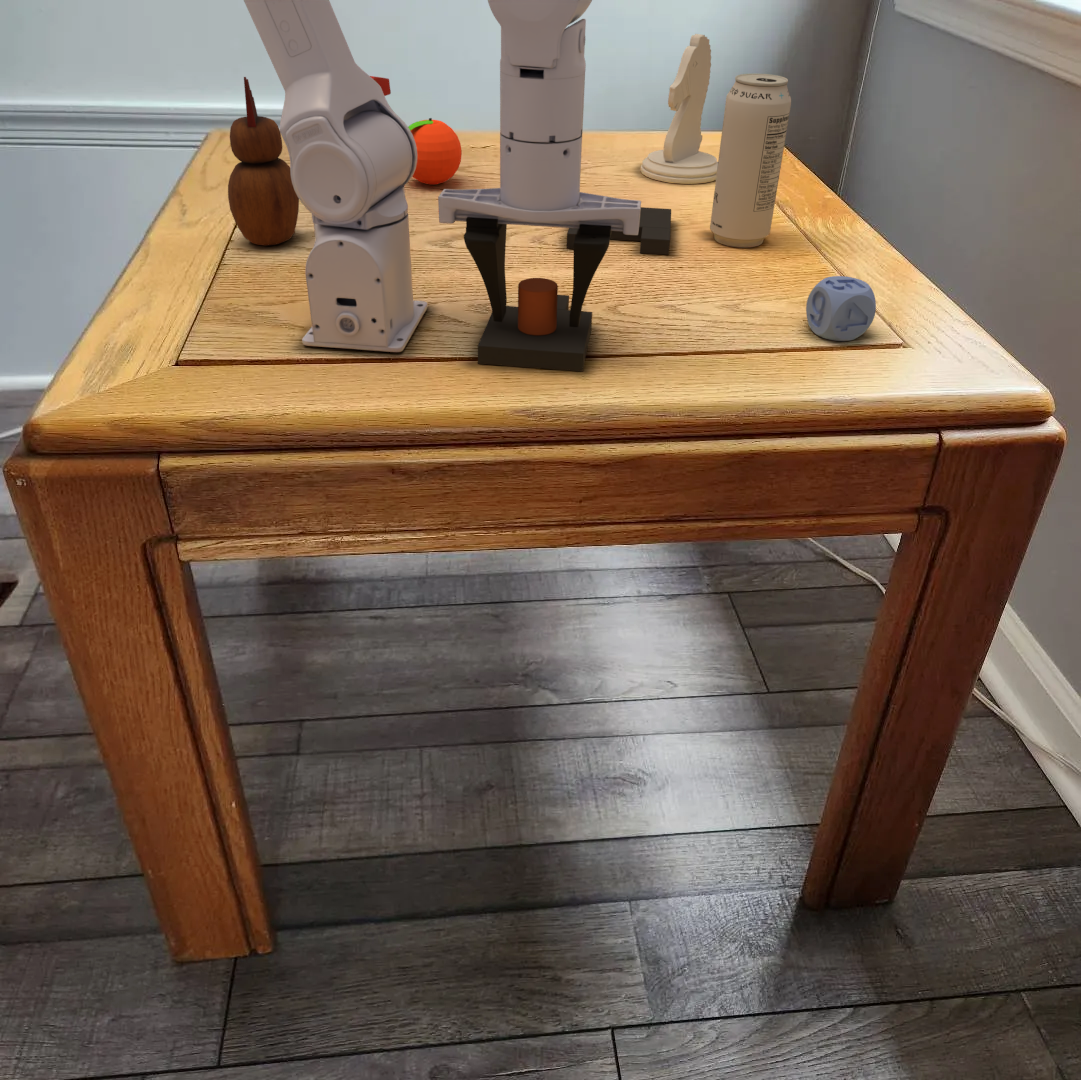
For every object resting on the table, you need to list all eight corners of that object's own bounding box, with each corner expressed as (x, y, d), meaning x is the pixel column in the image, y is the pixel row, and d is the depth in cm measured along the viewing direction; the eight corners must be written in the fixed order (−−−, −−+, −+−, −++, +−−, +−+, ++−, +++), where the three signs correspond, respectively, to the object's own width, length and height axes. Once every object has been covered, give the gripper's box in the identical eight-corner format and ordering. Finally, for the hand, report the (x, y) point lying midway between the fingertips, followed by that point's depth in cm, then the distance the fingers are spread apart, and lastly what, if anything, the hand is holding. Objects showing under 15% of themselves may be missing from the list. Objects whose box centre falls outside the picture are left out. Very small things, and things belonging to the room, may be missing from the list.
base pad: (668, 255, 93) (670, 239, 92) (566, 248, 94) (567, 233, 93) (670, 223, 101) (671, 208, 100) (576, 217, 102) (576, 203, 101)
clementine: (418, 197, 106) (414, 129, 102) (383, 183, 110) (378, 117, 106) (474, 185, 111) (473, 119, 106) (439, 172, 115) (436, 108, 111)
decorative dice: (870, 338, 78) (881, 291, 75) (826, 343, 77) (836, 296, 74) (843, 319, 81) (854, 273, 78) (801, 324, 80) (810, 277, 77)
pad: (582, 371, 72) (586, 308, 69) (477, 364, 72) (476, 300, 69) (594, 313, 81) (597, 255, 78) (501, 307, 81) (500, 249, 78)
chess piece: (625, 173, 116) (635, 35, 107) (665, 157, 122) (678, 26, 114) (696, 188, 111) (713, 46, 102) (734, 171, 118) (753, 35, 109)
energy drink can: (724, 226, 100) (746, 69, 92) (778, 238, 98) (805, 77, 89) (698, 240, 96) (717, 78, 88) (752, 253, 94) (778, 87, 85)
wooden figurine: (284, 254, 91) (260, 82, 82) (227, 248, 92) (198, 77, 83) (311, 231, 96) (292, 68, 87) (258, 226, 97) (233, 64, 88)
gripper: (648, 125, 68) (633, 306, 76) (449, 115, 70) (455, 293, 78) (644, 150, 63) (628, 342, 71) (428, 138, 64) (437, 328, 72)
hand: (537, 319), depth 74 cm, fingers open, 5 cm apart
